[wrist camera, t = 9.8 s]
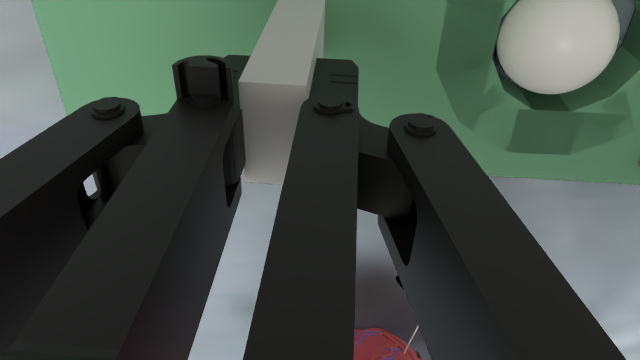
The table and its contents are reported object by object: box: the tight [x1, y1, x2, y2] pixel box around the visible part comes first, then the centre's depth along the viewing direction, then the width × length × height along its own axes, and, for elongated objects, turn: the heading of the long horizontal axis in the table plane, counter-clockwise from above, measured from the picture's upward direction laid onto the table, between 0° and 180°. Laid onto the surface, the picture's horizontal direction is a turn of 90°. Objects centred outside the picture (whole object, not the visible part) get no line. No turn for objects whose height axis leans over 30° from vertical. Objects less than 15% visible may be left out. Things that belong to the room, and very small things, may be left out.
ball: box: [496, 0, 620, 94], centre depth 18 cm, size 4×4×4 cm
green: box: [31, 0, 640, 185], centre depth 14 cm, size 27×12×14 cm, turn 89°
